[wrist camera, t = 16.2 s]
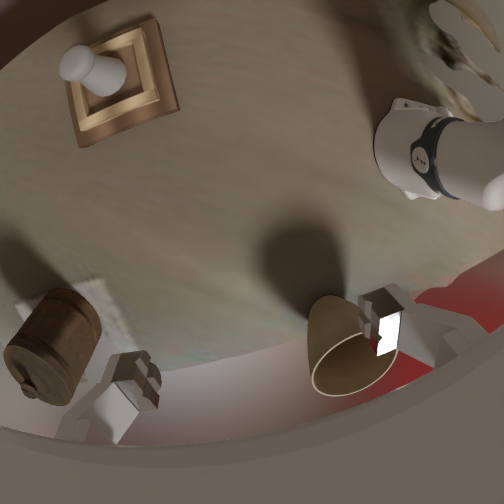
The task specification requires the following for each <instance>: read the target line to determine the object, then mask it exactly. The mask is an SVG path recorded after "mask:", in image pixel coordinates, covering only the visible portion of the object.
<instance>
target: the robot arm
mask: <svg viewBox="0 0 504 504" xmlns="http://www.w3.org/2000/svg"><path fill="white" fill-rule="evenodd" d="M404 104H405V105H406V107H405V105H404ZM374 150H375V157H376V161H377V164H378V166H379V169H380V171H381V172H382V174H383V175H384V177H385V178H386V179H387V180H388V181H389V182H391V183H392V184H394V185H395V186H397V187H399V188H400V189H401V191H402V192H403V194H404V195H405V196H406V198H408V199H411V200H413V199H415V198H417V197H419V196H423V197H427V198H430V199H437V197H440V196H441V195H442V196H444V197H447V198H452V199H456V200H457V199H462V200H464V201H467V202H469V203H472V204H474V205H477V206H479V207H481V208H484V209H486V210H488V211H497V210H501V209H504V119H502V120H500V121H496V122H467V121H464V120H462V119H459V118H456V117H454V116H453V115H452V113H451V112H450V111H448V108H447V107H442V106H437V107H434V106H431V105H427V104H423V103H420V102H416V101H412V100H408V99H404V98H396V99H394V101H393V103H392V106H391V110H390V112H389V113H388V114H387V115H386V116H385V117H384V118H383V120H382V121H381V122H380V124H379V126H378V128H377V131H376V135H375V142H374ZM358 306H359V307H360V309H361V310H360V312H359V314H358V322H359V326H360V329H361V331H362V333H363V335H364V336H365V337H366V338H369V339H370V346H371V347H372V349H373V350H374V352H375V353H376V355H377V356H379V355H381V354H384V353H387V352H389V351H392V350H394V349H397V350H399V351H401V352H403V353H405V354H407V355H409V356H411V357H413V358H415V359H417V360H419V361H421V362H423V363H425V364H427V365H429V366H431V367H433V371H432V372H430V373H428V374H426V375H424V376H422V377H420V378H418V379H416V380H415V381H413V382H411V383H409V384H407V385H404V386H402V387H400V388H398V389H396V390H394V391H392V392H389V393H387V394H385V395H383V396H380V397H378V398H376V399H373V400H371V401H368V402H366V403H363V404H361V405H358V406H356V407H353V408H350V409H348V410H345V411H342V412H339V413H336V414H334V415H331V416H327V417H324V418H321V419H318V420H315V421H311V422H308V423H304V424H300V425H297V426H293V427H290V428H285V429H281V430H277V431H272V432H268V433H263V434H258V435H253V436H248V437H242V438H236V439H229V440H222V441H215V442H207V443H197V444H185V445H168V446H118V445H117V443H118V442H119V440H120V438H121V437H122V436H123V434H124V433H125V432H126V430H127V429H128V427H129V426H130V425H131V423H132V422H133V420H134V419H135V417H136V416H137V415H138V413H139V411H147V410H156V409H158V403H159V395H158V393H157V391H158V390H159V389H160V388H161V383H162V381H161V374H160V372H159V369H158V368H157V366H156V365H155V364H153V363H151V362H150V359H151V357H150V355H149V354H148V353H147V351H144V350H142V351H135V352H127V353H121V354H113V355H112V356H110V359H109V361H108V364H107V366H106V369H105V371H104V374H103V377H102V380H101V382H100V383H98V384H96V385H95V386H94V387H93V388H92V389H91V390H90V391H89V392H88V393H87V394H86V395H85V396H83V397H82V398H81V399H80V400H79V401H78V402H77V403H76V404H75V405H74V406H73V407H72V408H71V409H70V410H69V411H68V412H67V413H66V414H64V416H62V419H61V422H60V424H59V427H58V430H57V433H56V436H55V439H53V438H49V437H43V436H38V435H34V434H29V433H25V432H21V431H17V430H14V429H10V428H7V427H3V426H1V427H0V504H504V324H503V325H502V326H501V327H499V328H498V329H496V330H495V331H494V332H493V333H491V334H490V335H489V334H488V333H487V332H486V331H485V330H484V329H483V328H482V327H481V326H480V325H479V324H478V323H477V322H476V321H475V320H474V319H473V318H472V317H469V316H466V315H462V314H458V313H454V312H451V311H447V310H443V309H439V308H436V307H432V306H429V305H424V304H421V303H419V304H416V303H415V302H414V301H413V300H412V299H411V298H410V297H409V296H408V295H407V294H406V293H405V292H404V291H403V290H402V289H400V288H399V287H398V286H397V285H396V284H395V283H392V284H389V285H387V286H384V287H382V288H380V289H377V290H374V291H371V292H369V293H366V294H363V295H360V296H359V297H358Z"/></svg>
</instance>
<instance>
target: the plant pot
mask: <svg viewBox="0 0 504 504" xmlns="http://www.w3.org/2000/svg"><path fill="white" fill-rule="evenodd" d="M360 310H361V309H360V307H358V306H356V305H355V304H353V303H351V302H349V301H347V300H345V299H343V298H341V297H338V296H335V295H328V296H324V297H322V298H320V299H318V300H317V301H316V302H315V303H314V304H313V305H312V307H311V309H310V313H309V319H308V332H307V342H308V343H307V344H308V360H309V368H310V375H311V380H312V385H313V387H314V388H315V389H316V390H317V391H318V392H319V393H321V394H324V395H327V396H343V395H349V394H352V393H355V392H358V391H360V390H363V389H365V388H367V387H368V386H370V385H371V384H373V383H374V382H376V381H377V380H378V379H380V377H382V376H383V375H384V374H385V373H386V372H387V370H388V369H389V368H390V367H391V365H392V364H393V362H394V360H395V358H396V355H397V352H398V350H397V349H394V350H392V351H389V352H387V353H384V354H381V355H379V356H377V355H376V353H375V352H374V350H373V349H372V347H371V346H370V339H369V338H366V337H365V336H364V335H363V333H362V331H361V329H360V326H359V322H358V314H359V312H360Z"/></svg>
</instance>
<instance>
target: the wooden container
mask: <svg viewBox="0 0 504 504" xmlns="http://www.w3.org/2000/svg"><path fill="white" fill-rule="evenodd" d="M101 332H102V328H101V323H100V320H99V317H98V315H97V314H96V312H95V310H94V309H93V307H92V306H91V305H90V304H89V303H88V302H87V301H86V300H85V299H84V298H82V297H81V296H80V295H78V294H76V293H75V292H73V291H70V290H67V289H55V290H52V291H51V292H49V293H48V294H47V295H46V296H45V298H44V299H43V300H42V301H41V302H40V303H39V304H38V306H37V307H36V308H35V309H34V310H33V312H32V313H31V314H30V316H29V317H28V318H27V320H26V321H25V323H24V324H23V325H22V327H21V328H20V330H19V331H18V332H17V334H16V335H15V336H14V337H13V338H12V339H11V341H10V342H9V343H8V345H7V346H6V348H5V350H4V360H5V364H6V366H7V368H8V370H9V371H10V373H11V374H12V376H13V377H14V378H15V379H16V381H17V382H18V383H19V384H20V385H21V389H22V391H23V393H24V395H25V396H27V397H28V398H32V399H35V398H38V399H40V400H42V401H44V402H46V403H49V404H51V405H56V406H65V405H67V404H69V403H70V401H71V399H72V397H73V395H74V392H75V390H76V387H77V385H78V383H79V381H80V379H81V376H82V374H83V372H84V370H85V368H86V367H87V365H88V363H89V361H90V358H91V356H92V354H93V352H94V350H95V347H96V345H97V343H98V341H99V339H100V336H101Z"/></svg>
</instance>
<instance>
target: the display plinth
mask: <svg viewBox="0 0 504 504" xmlns="http://www.w3.org/2000/svg"><path fill="white" fill-rule="evenodd" d="M88 47H89V48H90V49H91V50H92V51H93V52H94V54H95V55H100V56H106V57H111V58H115V59H119V60H121V61H122V62H123V63H124V65H125V66H126V71H127V76H126V80H125V84H124V85H123V86H122V87H121V88H120V89H119V90H118V91H117V92H115V93H114V94H112V95H109V96H104V97H101V96H98V95H94V94H93V93H92V92H91V91H90V90H88V89H87V88H86V87H85V86H84V85H82V84H81V83H80V82H79V81H75V82H71V81H66V80H65V85H66V91H67V96H68V102H69V107H70V112H71V117H72V121H73V126H74V130H75V134H76V138H77V142H78V146H79V148H85V147H89V146H91V145H93V144H95V143H97V142H99V141H102V140H104V139H106V138H108V137H111V136H113V135H115V134H117V133H120V132H122V131H125V130H127V129H130V128H132V127H135V126H137V125H140V124H142V123H145V122H148V121H151V120H153V119H156V118H159V117H162V116H165V115H168V114H171V113H174V112H177V111H180V108H179V104H178V100H177V96H176V92H175V88H174V84H173V80H172V76H171V72H170V68H169V64H168V60H167V56H166V52H165V47H164V43H163V39H162V34H161V30H160V26H159V23H158V21H157V20H156V18H152V19H150V20H147V21H144V22H141V23H139V24H136V25H134V26H131V27H129V28H126V29H124V30H121V31H119V32H117V33H114V34H112V35H110V36H108V37H106V38H104V39H102V40H99V41H97V42H95V43H93V44H91V45H90V46H88Z"/></svg>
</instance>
